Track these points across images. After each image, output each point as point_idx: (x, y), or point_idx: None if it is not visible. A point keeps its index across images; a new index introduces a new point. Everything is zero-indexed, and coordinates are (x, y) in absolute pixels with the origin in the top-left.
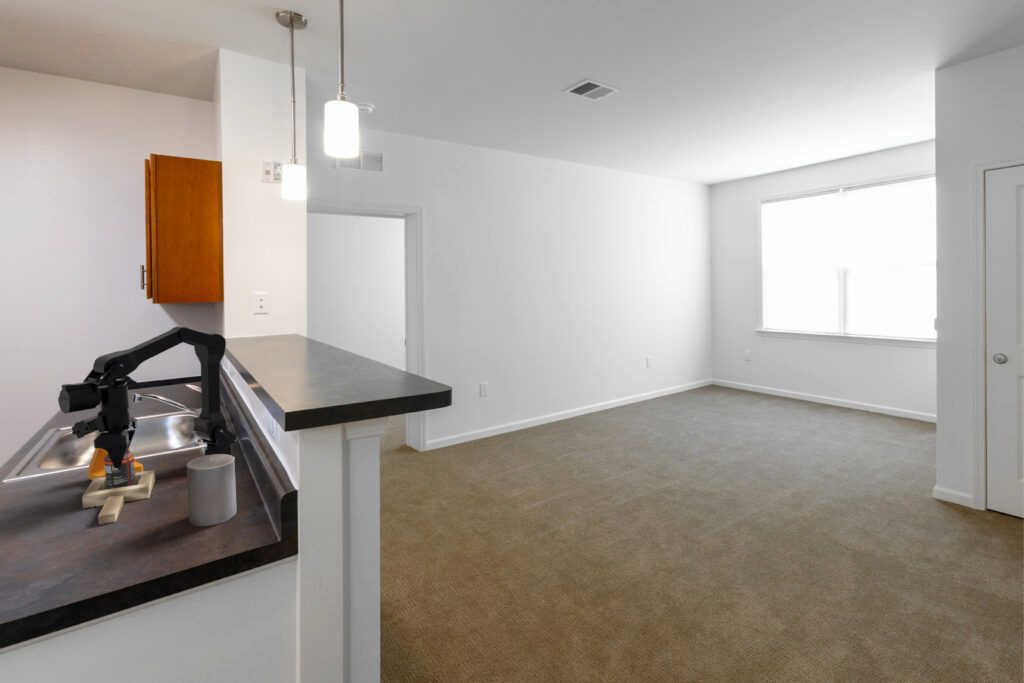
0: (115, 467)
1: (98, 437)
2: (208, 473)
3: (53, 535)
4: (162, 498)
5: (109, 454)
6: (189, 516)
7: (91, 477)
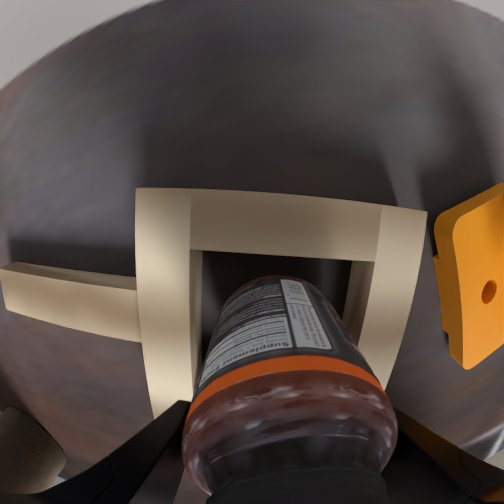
0: (175, 406)
1: None
2: None
3: (4, 161)
4: (148, 414)
5: (83, 476)
6: (7, 414)
7: (485, 195)
